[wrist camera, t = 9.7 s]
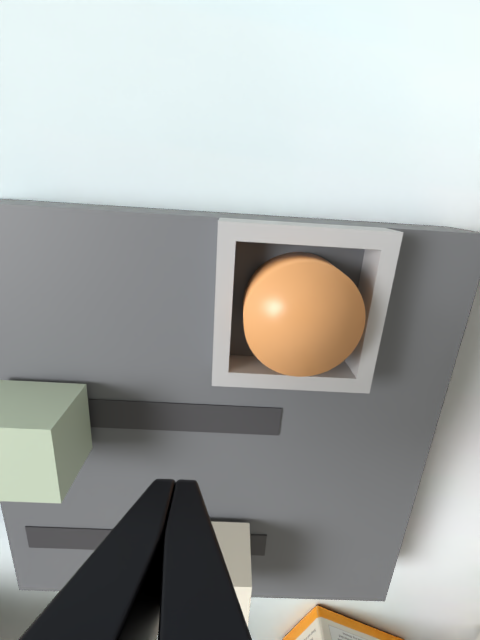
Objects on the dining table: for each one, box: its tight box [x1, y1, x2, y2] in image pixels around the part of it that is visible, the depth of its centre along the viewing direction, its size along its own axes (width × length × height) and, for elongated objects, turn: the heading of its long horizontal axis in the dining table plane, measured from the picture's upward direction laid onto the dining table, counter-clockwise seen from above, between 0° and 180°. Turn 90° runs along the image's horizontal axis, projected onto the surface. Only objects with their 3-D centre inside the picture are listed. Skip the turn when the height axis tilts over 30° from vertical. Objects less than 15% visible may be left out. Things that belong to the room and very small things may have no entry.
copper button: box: [243, 252, 366, 377], centre depth 13 cm, size 4×4×2 cm
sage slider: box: [0, 380, 93, 503], centre depth 14 cm, size 3×4×3 cm
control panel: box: [0, 199, 480, 601], centre depth 17 cm, size 20×20×4 cm
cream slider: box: [211, 521, 252, 627], centre depth 17 cm, size 4×4×3 cm
